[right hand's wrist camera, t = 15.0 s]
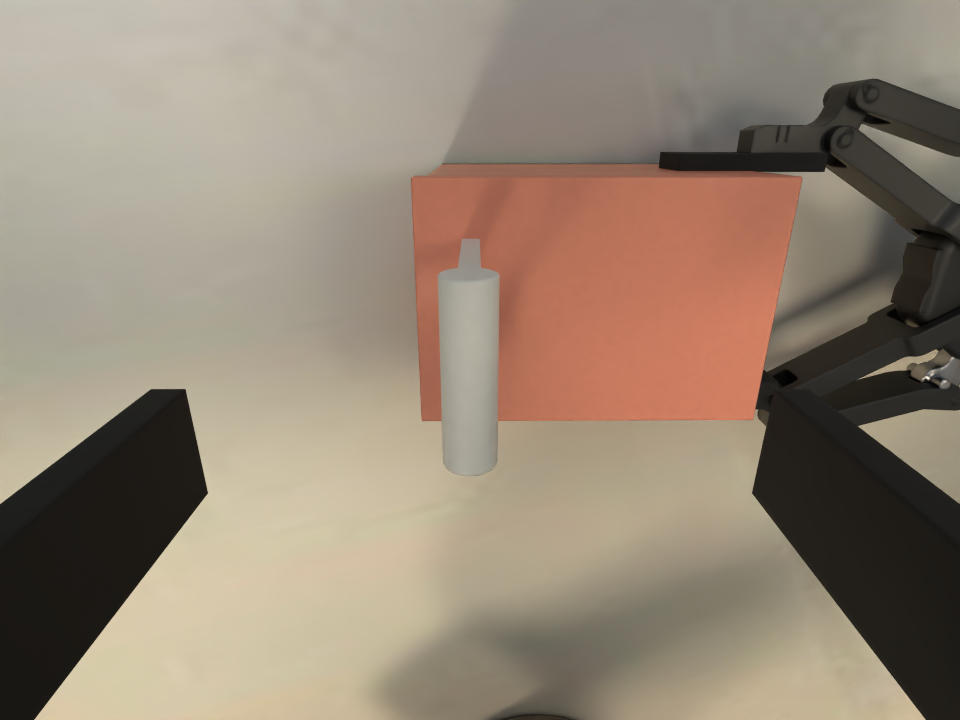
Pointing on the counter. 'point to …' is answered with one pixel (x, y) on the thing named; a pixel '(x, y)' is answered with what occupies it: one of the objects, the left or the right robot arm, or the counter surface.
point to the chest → (575, 170)
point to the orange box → (593, 299)
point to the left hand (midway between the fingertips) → (654, 278)
